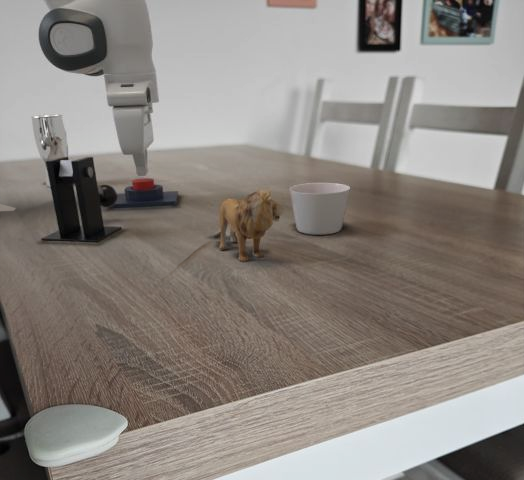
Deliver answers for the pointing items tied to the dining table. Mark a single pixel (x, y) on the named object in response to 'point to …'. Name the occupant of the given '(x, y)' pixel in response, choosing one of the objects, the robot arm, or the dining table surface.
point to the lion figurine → (248, 220)
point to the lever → (105, 191)
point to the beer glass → (50, 138)
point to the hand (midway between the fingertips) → (142, 174)
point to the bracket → (67, 205)
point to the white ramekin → (319, 207)
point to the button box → (145, 198)
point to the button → (143, 184)
